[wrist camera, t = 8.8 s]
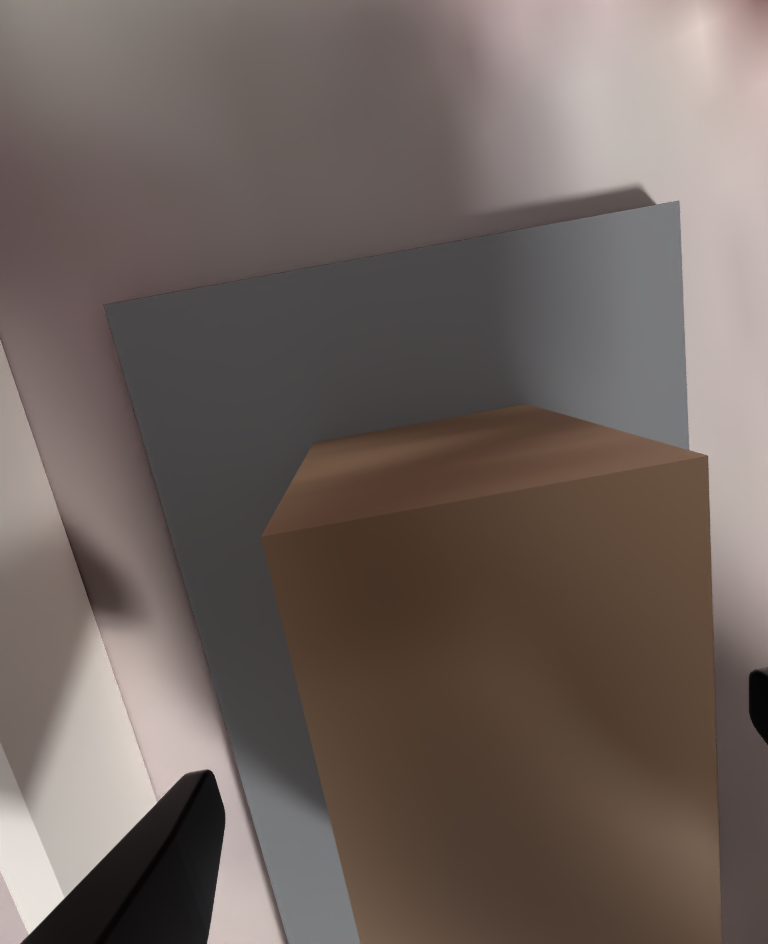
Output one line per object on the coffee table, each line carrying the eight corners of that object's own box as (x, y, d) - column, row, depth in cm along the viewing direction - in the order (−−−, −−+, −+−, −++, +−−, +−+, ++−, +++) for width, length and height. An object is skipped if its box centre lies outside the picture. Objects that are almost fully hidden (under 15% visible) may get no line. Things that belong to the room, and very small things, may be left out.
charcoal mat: (662, 209, 9) (679, 199, 9) (694, 891, 13) (707, 912, 12) (117, 307, 9) (103, 304, 9) (303, 963, 13) (301, 988, 12)
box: (527, 404, 9) (707, 456, 4) (574, 836, 12) (728, 1183, 7) (313, 442, 9) (259, 536, 4) (402, 868, 12) (432, 1237, 7)
